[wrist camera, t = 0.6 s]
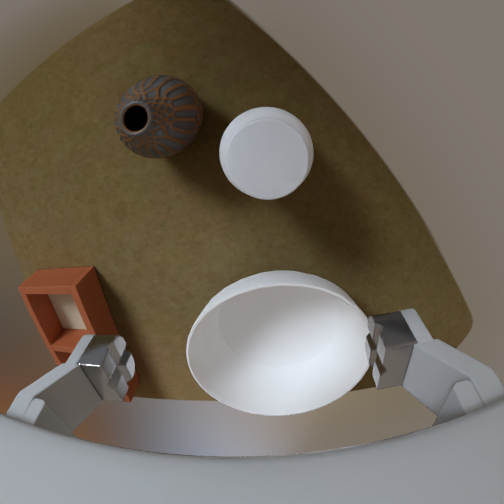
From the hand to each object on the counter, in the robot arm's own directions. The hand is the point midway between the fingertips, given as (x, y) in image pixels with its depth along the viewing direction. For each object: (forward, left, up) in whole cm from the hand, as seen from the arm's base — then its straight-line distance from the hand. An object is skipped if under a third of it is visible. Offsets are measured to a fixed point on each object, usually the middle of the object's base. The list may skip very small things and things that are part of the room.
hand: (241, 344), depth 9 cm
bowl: (+13, -9, -21) cm, 26 cm away
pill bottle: (-2, +3, -21) cm, 21 cm away
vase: (-10, -1, -21) cm, 23 cm away
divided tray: (-3, -29, -21) cm, 36 cm away
